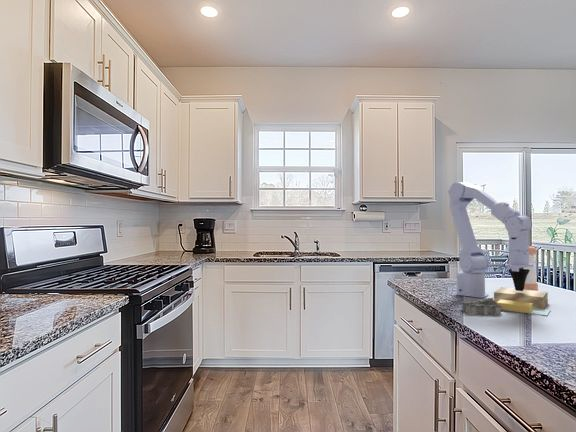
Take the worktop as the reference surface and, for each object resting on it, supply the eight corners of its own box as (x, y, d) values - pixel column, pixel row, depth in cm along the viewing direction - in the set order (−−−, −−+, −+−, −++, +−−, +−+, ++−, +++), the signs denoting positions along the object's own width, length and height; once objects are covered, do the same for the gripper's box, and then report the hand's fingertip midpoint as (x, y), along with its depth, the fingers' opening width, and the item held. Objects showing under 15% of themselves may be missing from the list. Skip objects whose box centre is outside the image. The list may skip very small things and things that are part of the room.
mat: (481, 307, 122) (481, 306, 122) (487, 302, 129) (487, 302, 129) (547, 316, 110) (547, 315, 110) (550, 310, 117) (550, 309, 117)
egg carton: (494, 310, 120) (494, 297, 120) (504, 316, 112) (504, 302, 112) (459, 309, 121) (459, 296, 121) (467, 314, 114) (467, 301, 114)
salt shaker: (542, 293, 145) (541, 244, 146) (523, 293, 145) (522, 244, 146) (530, 289, 152) (529, 243, 153) (512, 289, 153) (511, 243, 153)
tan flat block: (494, 303, 127) (493, 292, 127) (501, 298, 136) (501, 287, 136) (543, 309, 118) (542, 297, 118) (547, 303, 127) (547, 291, 127)
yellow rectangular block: (500, 299, 123) (500, 305, 123) (496, 302, 119) (496, 308, 119) (532, 303, 118) (532, 309, 118) (529, 306, 113) (529, 313, 113)
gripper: (529, 252, 118) (529, 295, 118) (536, 249, 129) (536, 288, 129) (504, 251, 123) (504, 292, 122) (512, 248, 133) (513, 286, 133)
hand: (519, 290), depth 126 cm, fingers closed
